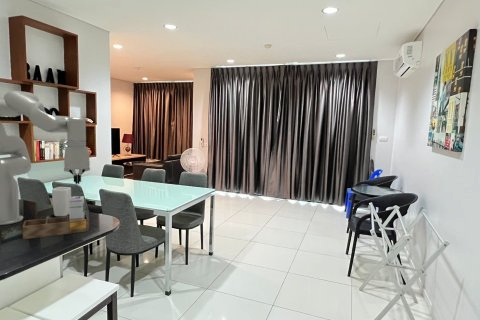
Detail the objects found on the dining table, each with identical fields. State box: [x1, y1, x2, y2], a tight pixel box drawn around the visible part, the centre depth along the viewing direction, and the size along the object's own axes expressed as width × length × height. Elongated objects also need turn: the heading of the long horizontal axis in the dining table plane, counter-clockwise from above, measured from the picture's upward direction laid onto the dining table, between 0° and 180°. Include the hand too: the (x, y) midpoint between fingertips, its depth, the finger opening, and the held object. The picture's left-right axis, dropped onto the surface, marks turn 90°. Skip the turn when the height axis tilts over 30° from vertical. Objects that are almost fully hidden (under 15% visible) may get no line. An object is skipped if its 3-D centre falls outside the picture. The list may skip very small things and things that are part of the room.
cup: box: [51, 186, 72, 218], centre depth 159 cm, size 7×7×15 cm
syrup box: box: [68, 195, 86, 221], centre depth 140 cm, size 6×6×14 cm
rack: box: [22, 214, 90, 240], centre depth 137 cm, size 25×9×6 cm, turn 121°
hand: (77, 183), depth 139 cm, fingers closed
